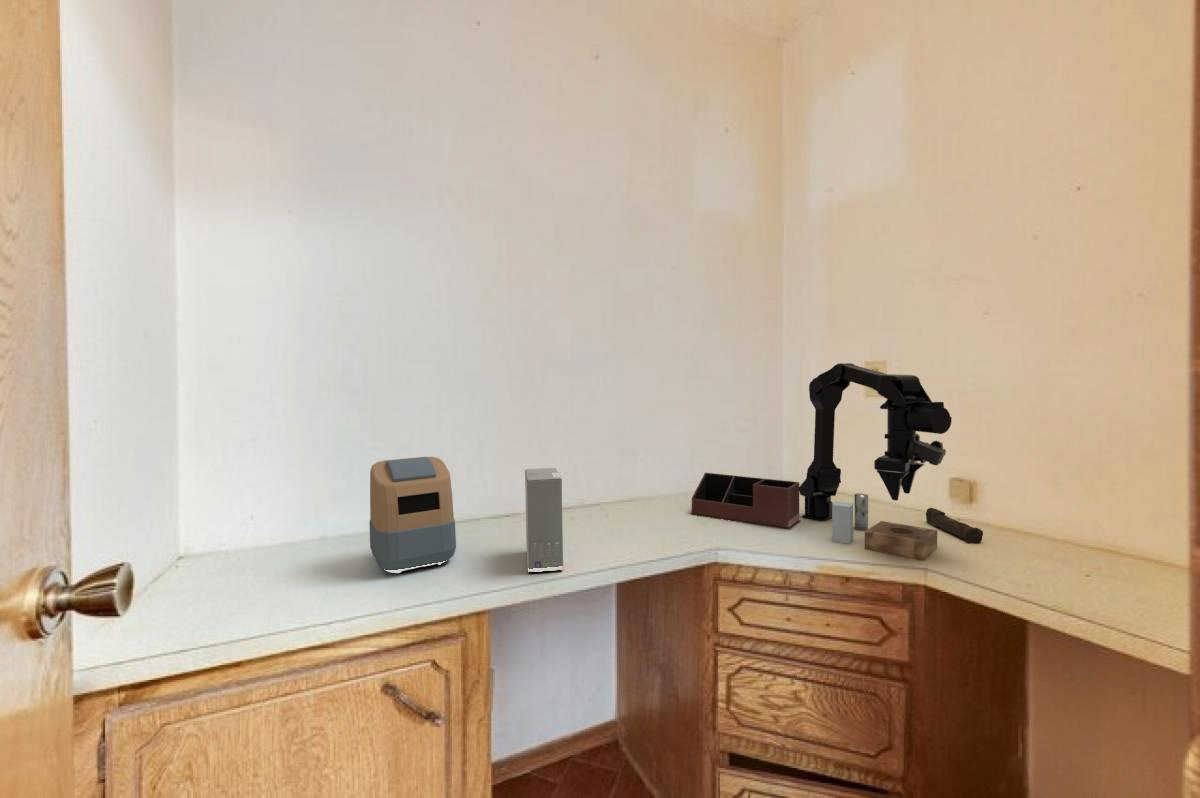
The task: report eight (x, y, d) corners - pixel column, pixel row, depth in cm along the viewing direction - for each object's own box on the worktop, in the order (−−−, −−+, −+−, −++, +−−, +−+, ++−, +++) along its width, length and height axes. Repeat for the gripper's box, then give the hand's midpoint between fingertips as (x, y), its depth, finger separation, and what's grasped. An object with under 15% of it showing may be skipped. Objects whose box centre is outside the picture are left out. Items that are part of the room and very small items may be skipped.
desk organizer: (790, 531, 138) (790, 488, 138) (689, 515, 156) (688, 477, 155) (801, 522, 147) (801, 481, 146) (704, 508, 164) (704, 472, 164)
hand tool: (984, 544, 125) (984, 525, 125) (966, 544, 125) (966, 525, 125) (937, 523, 144) (937, 506, 143) (922, 522, 144) (922, 506, 144)
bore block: (864, 548, 123) (864, 531, 123) (881, 536, 131) (881, 520, 131) (923, 560, 114) (923, 542, 114) (937, 547, 123) (937, 530, 123)
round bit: (852, 528, 138) (852, 494, 138) (856, 526, 141) (857, 492, 140) (865, 531, 136) (865, 496, 136) (869, 528, 138) (869, 494, 138)
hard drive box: (564, 572, 112) (562, 478, 111) (527, 575, 110) (525, 480, 110) (557, 548, 127) (556, 466, 126) (525, 551, 126) (523, 468, 125)
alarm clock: (381, 581, 108) (377, 469, 107) (368, 558, 123) (364, 459, 122) (461, 564, 117) (458, 461, 116) (440, 545, 131) (437, 452, 130)
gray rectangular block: (832, 541, 129) (832, 504, 128) (835, 537, 132) (835, 501, 132) (850, 544, 126) (850, 506, 126) (853, 539, 130) (853, 503, 129)
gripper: (931, 435, 109) (930, 510, 110) (951, 428, 123) (951, 494, 123) (873, 432, 117) (873, 502, 118) (898, 425, 131) (898, 488, 131)
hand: (901, 496), depth 122 cm, fingers open, 9 cm apart
